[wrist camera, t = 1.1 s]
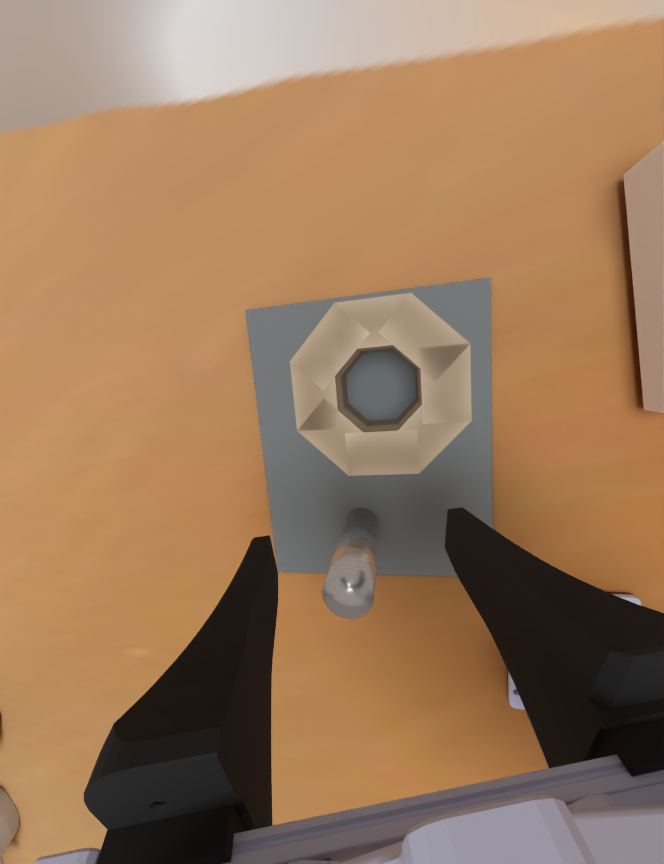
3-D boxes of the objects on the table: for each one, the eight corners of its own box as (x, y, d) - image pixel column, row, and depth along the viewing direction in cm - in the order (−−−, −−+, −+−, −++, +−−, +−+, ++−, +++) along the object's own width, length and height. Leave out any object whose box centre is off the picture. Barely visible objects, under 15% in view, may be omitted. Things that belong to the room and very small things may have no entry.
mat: (491, 575, 24) (492, 577, 24) (279, 569, 27) (277, 571, 27) (489, 278, 20) (490, 277, 20) (247, 311, 24) (245, 310, 23)
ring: (457, 452, 22) (472, 472, 18) (318, 458, 24) (302, 477, 20) (453, 302, 21) (469, 285, 16) (305, 320, 23) (284, 309, 18)
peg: (380, 541, 25) (375, 620, 17) (345, 541, 25) (324, 617, 17) (378, 508, 24) (371, 572, 16) (342, 508, 25) (320, 571, 17)
